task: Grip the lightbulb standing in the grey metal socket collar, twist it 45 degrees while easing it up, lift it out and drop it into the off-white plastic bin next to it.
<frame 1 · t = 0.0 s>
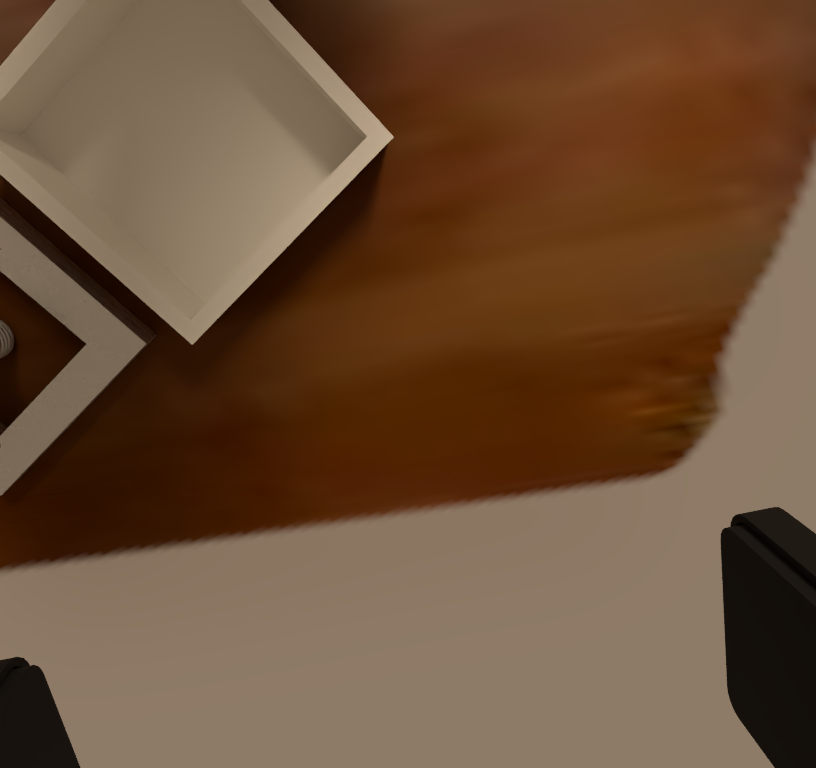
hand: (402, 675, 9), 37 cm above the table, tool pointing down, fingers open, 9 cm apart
bin: (200, 139, 42), on the table
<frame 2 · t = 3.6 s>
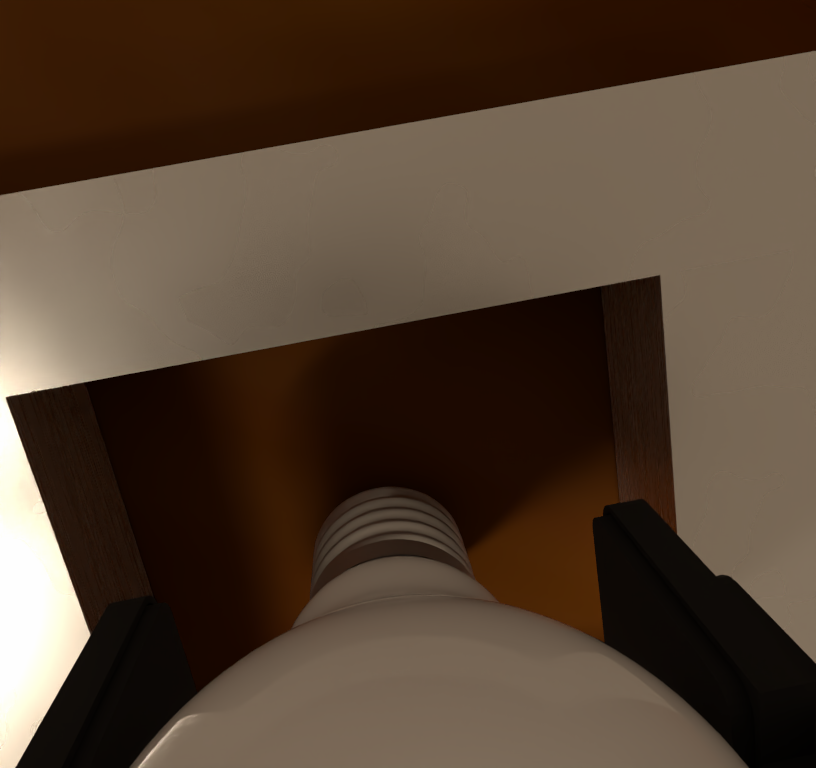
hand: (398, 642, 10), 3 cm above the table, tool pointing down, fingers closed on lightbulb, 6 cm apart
lightbulb: (386, 531, 13), resting in socket collar, touching gripper
socket collar: (386, 537, 13), on the table
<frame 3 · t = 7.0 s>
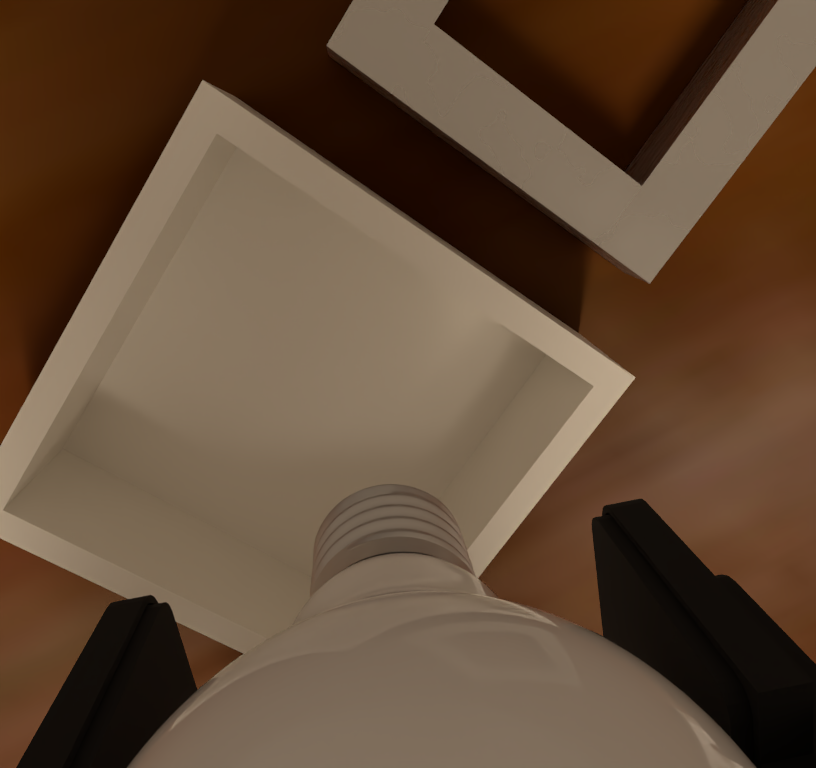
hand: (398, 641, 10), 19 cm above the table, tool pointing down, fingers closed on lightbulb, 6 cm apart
bin: (310, 389, 29), on the table
lightbulb: (386, 529, 13), point 16 cm above the table, touching gripper
socket collar: (599, 1, 25), on the table
when the fingers open (5 cm above the table, at t = 10.5 s): lightbulb drops 1 cm, resting on bin.
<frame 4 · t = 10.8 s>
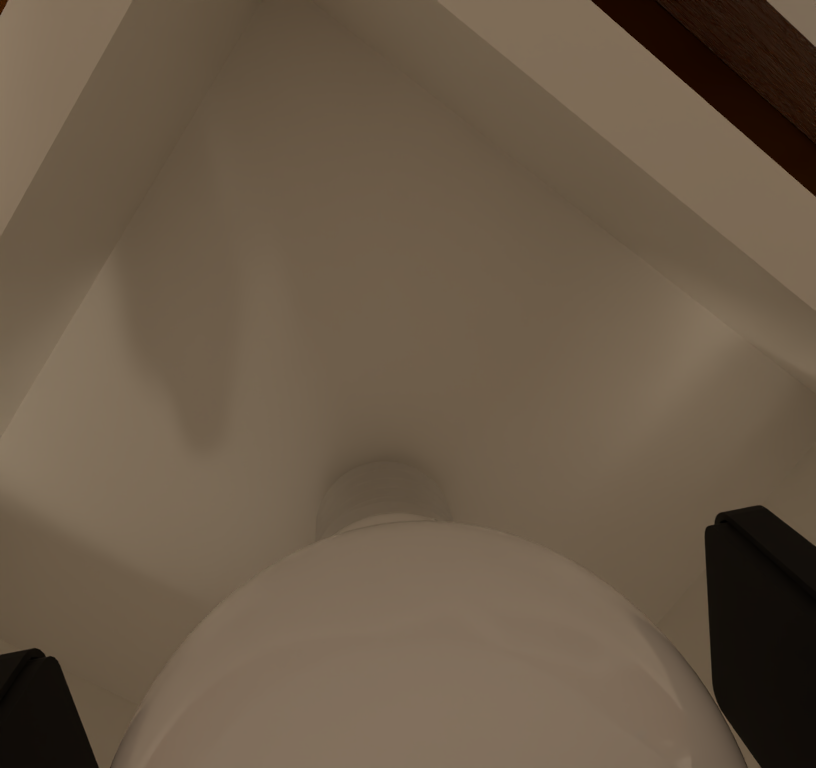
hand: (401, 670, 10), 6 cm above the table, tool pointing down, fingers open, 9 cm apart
bin: (381, 482, 15), on the table
lightbulb: (381, 506, 15), point 1 cm above the table, touching bin
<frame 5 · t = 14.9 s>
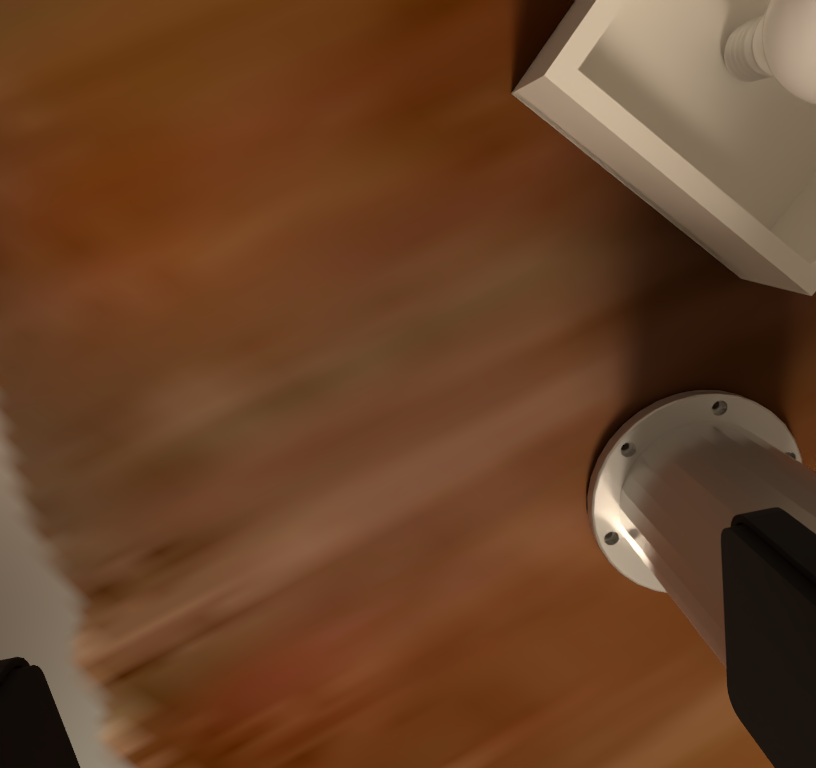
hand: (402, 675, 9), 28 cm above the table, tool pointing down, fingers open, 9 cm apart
bin: (733, 54, 34), on the table
lightbulb: (741, 54, 34), point 1 cm above the table, touching bin
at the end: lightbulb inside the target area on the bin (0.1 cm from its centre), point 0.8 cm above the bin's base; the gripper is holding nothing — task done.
